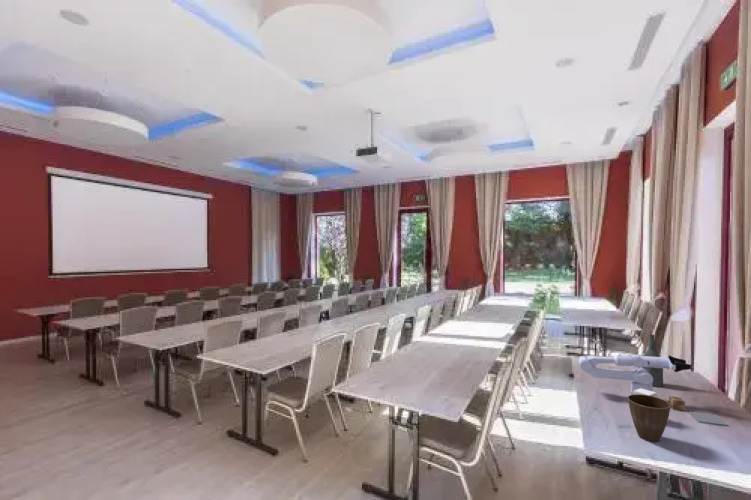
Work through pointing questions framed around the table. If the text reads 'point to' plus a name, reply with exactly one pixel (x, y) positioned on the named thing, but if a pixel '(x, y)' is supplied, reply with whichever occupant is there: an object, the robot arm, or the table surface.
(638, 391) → the supplement box
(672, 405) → the walnut block
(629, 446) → the table surface
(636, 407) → the plant pot
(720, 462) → the table surface
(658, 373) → the bottle
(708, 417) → the slate mat
